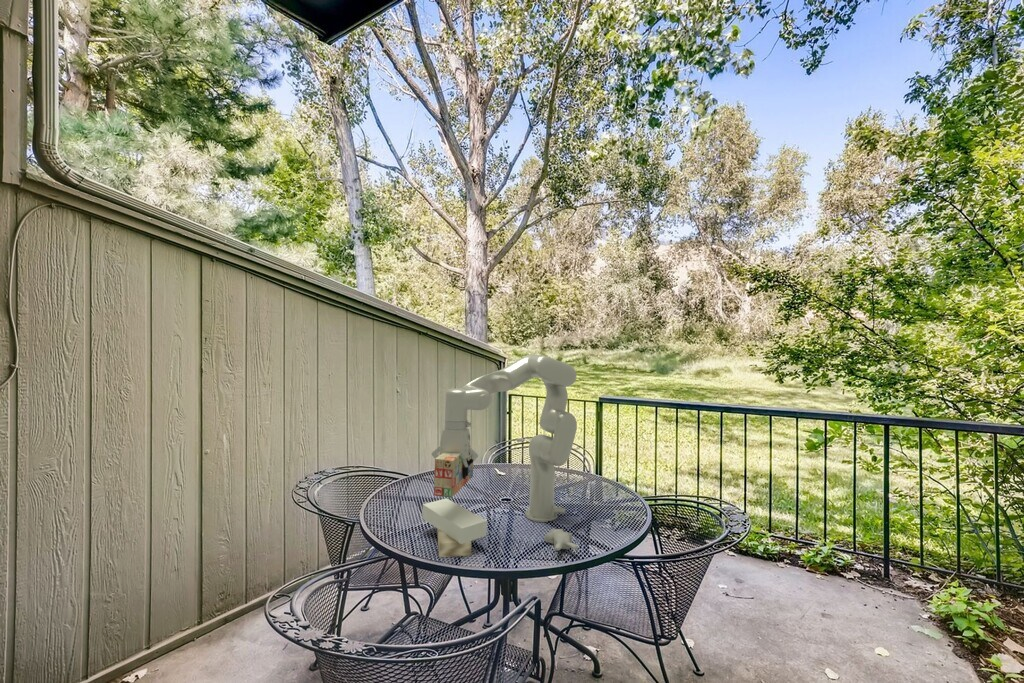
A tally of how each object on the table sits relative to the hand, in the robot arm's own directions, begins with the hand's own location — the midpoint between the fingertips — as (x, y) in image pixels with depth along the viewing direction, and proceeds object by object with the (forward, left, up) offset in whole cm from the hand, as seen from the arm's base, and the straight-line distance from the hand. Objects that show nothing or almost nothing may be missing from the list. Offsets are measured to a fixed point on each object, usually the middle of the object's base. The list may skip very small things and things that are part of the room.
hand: (454, 476), depth 153 cm
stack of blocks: (0, -1, -4) cm, 4 cm away
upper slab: (0, 0, -17) cm, 17 cm away
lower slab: (0, 0, -22) cm, 22 cm away
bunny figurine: (-37, 0, -22) cm, 43 cm away
